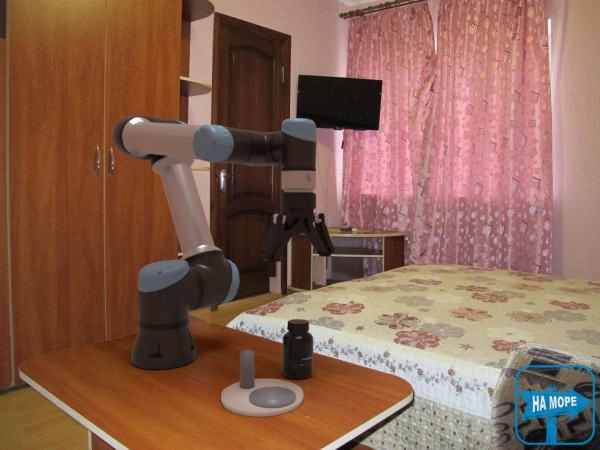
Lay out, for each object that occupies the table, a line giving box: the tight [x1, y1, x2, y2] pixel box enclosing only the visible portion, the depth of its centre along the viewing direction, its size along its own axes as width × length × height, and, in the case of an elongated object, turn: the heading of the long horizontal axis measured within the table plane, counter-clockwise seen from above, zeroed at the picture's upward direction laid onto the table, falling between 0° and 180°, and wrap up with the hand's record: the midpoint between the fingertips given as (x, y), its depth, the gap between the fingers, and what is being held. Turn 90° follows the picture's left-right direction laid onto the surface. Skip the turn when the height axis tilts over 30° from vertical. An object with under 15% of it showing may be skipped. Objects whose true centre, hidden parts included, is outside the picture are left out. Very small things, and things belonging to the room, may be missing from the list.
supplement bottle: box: [281, 318, 314, 380], centre depth 110 cm, size 7×7×12 cm
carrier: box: [220, 349, 304, 418], centre depth 97 cm, size 16×16×8 cm
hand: (298, 288), depth 109 cm, fingers open, 13 cm apart
